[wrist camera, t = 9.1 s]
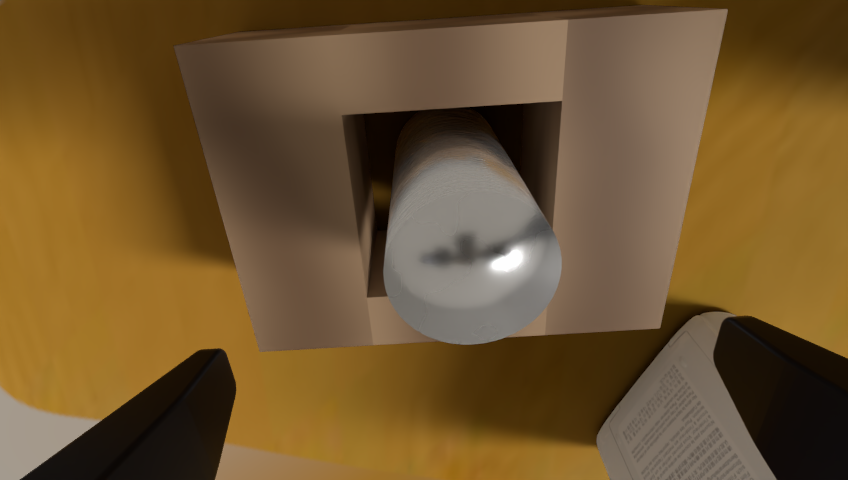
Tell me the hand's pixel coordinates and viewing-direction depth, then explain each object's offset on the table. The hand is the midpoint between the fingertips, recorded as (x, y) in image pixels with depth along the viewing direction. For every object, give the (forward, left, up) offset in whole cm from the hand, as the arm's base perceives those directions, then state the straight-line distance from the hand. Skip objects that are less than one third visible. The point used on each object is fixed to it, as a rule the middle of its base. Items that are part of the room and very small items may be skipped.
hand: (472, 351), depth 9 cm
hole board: (0, 0, -11) cm, 11 cm away
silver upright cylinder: (0, 0, -11) cm, 11 cm away
